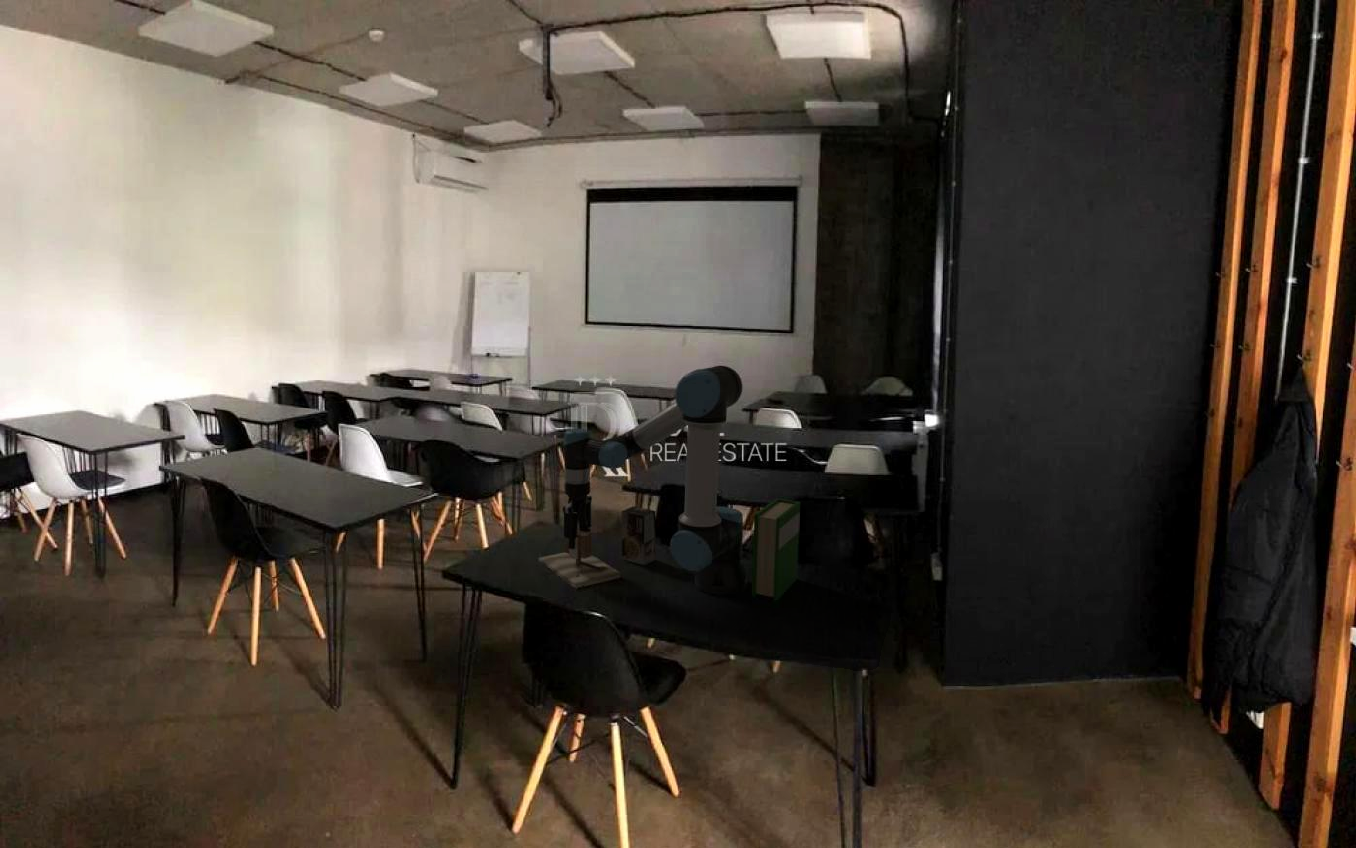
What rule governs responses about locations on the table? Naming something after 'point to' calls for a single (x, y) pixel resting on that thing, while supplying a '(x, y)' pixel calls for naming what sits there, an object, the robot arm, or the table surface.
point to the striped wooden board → (579, 570)
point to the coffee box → (638, 535)
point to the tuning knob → (582, 548)
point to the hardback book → (775, 548)
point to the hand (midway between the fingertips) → (578, 555)
